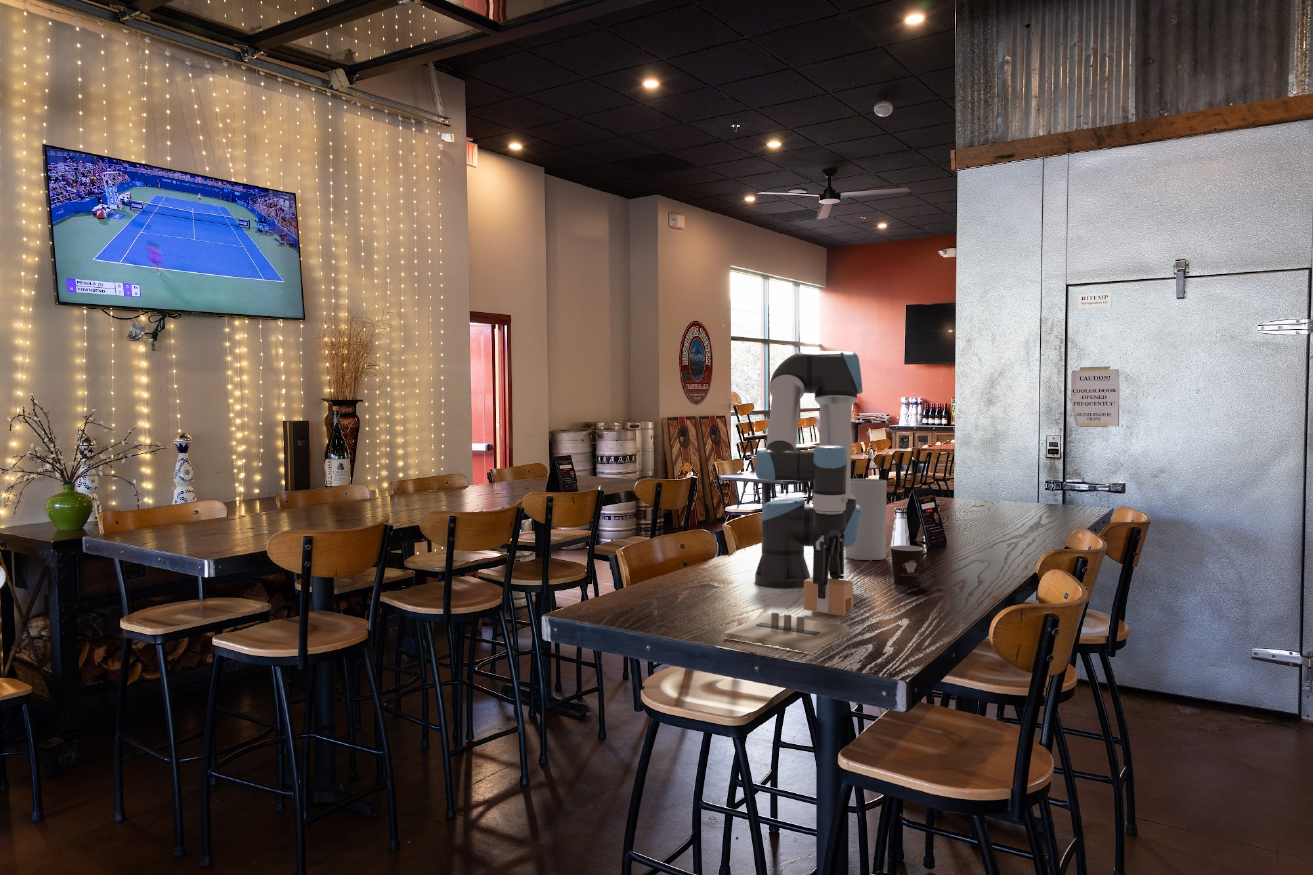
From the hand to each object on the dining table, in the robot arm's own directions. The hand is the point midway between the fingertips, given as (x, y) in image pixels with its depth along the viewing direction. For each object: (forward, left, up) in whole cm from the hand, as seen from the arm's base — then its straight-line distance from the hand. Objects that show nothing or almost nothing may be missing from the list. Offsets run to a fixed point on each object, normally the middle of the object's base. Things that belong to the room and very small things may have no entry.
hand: (828, 608), depth 208 cm
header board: (0, -22, -2) cm, 22 cm away
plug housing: (0, 0, 0) cm, 0 cm away
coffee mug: (+5, +46, -2) cm, 46 cm away
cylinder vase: (-20, +77, -2) cm, 79 cm away
